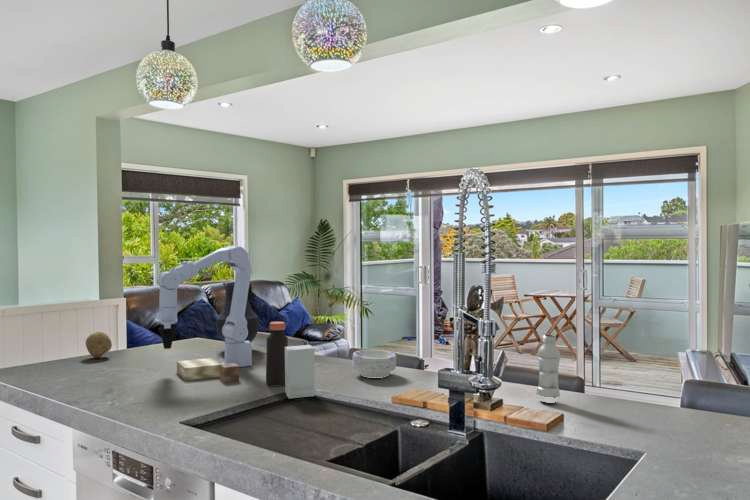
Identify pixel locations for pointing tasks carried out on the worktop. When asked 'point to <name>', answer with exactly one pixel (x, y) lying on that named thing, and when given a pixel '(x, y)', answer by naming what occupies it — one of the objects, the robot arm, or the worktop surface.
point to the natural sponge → (98, 344)
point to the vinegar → (276, 354)
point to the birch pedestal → (198, 368)
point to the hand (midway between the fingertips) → (168, 346)
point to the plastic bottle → (548, 367)
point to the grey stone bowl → (374, 362)
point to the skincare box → (299, 371)
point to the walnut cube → (229, 372)
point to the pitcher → (249, 313)
